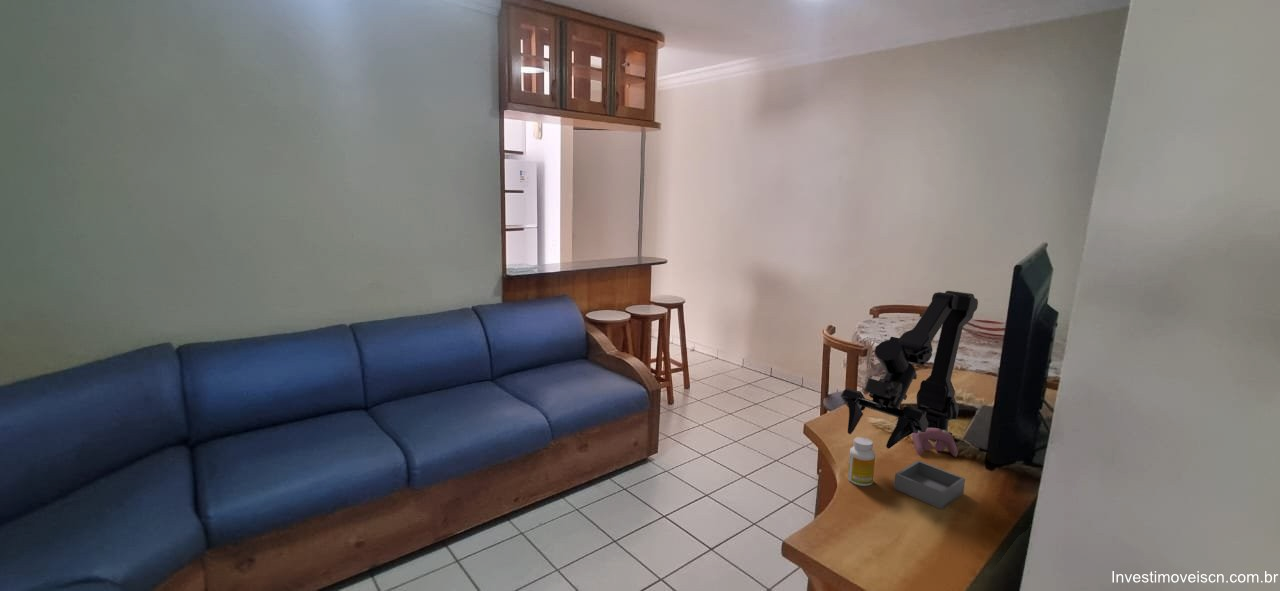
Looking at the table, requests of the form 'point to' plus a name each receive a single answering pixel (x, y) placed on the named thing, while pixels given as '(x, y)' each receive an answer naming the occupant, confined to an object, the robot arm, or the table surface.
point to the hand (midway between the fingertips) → (867, 440)
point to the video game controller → (939, 435)
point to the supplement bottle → (861, 462)
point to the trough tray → (929, 484)
